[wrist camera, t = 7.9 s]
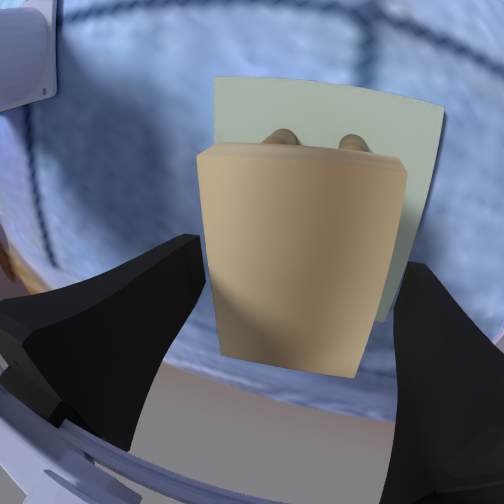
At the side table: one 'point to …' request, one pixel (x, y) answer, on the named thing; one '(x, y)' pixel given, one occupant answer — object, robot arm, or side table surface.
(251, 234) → the tan block with pegs
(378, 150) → the mat
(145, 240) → the side table surface
